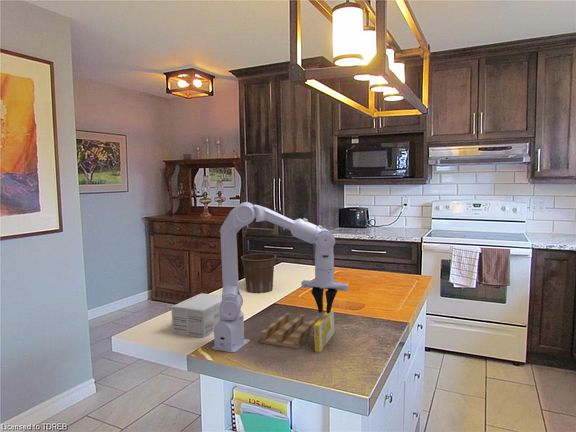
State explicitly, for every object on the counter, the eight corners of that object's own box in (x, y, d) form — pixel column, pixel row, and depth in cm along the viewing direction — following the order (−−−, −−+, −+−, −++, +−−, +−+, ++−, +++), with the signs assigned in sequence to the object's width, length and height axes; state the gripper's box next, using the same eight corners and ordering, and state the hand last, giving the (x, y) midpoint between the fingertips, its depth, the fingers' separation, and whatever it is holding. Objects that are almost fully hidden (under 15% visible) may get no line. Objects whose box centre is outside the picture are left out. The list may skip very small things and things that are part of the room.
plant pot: (268, 296, 176) (267, 260, 174) (235, 293, 181) (234, 258, 180) (281, 287, 191) (281, 254, 190) (251, 285, 196) (250, 252, 195)
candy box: (328, 332, 132) (328, 308, 132) (335, 333, 132) (334, 308, 131) (313, 351, 117) (313, 324, 117) (320, 352, 117) (320, 325, 116)
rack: (298, 348, 119) (298, 337, 119) (260, 342, 124) (260, 331, 124) (319, 326, 138) (319, 316, 137) (286, 322, 143) (286, 312, 142)
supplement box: (201, 317, 150) (200, 292, 149) (231, 321, 145) (230, 296, 144) (171, 332, 135) (170, 305, 134) (204, 338, 130) (203, 309, 129)
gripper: (350, 267, 124) (351, 310, 125) (306, 264, 129) (307, 305, 130) (344, 272, 117) (345, 317, 118) (298, 268, 123) (299, 312, 124)
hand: (324, 312), depth 124 cm, fingers closed
